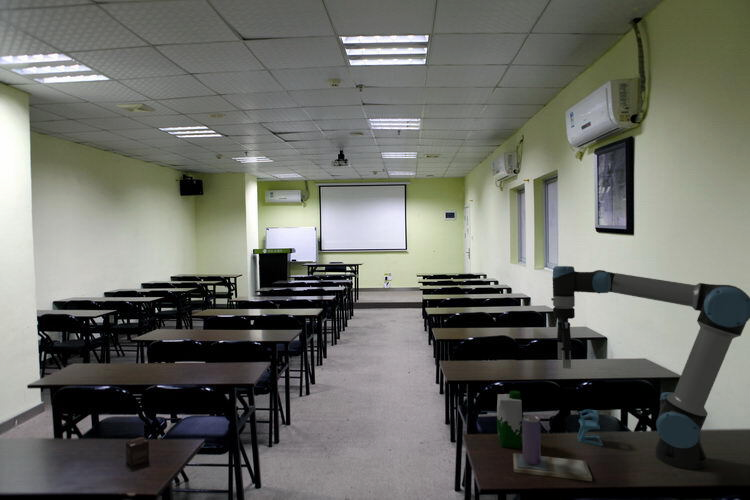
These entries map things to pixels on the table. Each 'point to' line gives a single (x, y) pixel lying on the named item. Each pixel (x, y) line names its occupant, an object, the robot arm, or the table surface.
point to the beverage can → (531, 440)
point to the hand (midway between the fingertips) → (564, 363)
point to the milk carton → (509, 419)
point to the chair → (589, 427)
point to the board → (554, 467)
